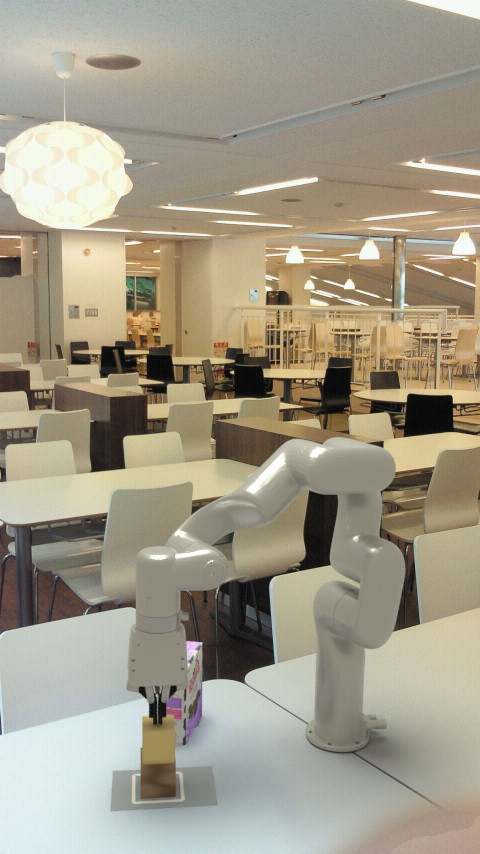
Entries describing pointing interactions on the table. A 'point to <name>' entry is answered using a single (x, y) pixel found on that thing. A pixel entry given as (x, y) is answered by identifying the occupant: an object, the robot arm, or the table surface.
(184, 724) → the candy box
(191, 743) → the table surface
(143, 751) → the ochre block
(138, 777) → the board
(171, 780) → the walnut block
